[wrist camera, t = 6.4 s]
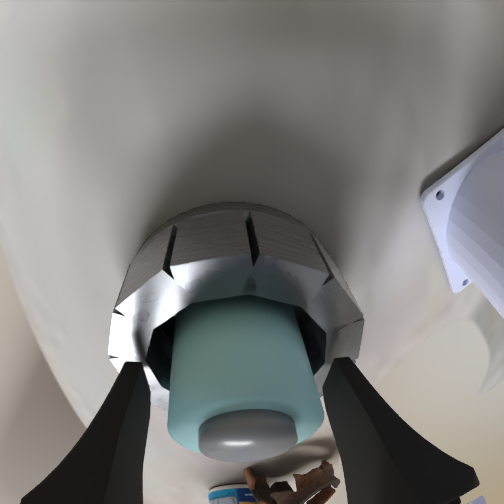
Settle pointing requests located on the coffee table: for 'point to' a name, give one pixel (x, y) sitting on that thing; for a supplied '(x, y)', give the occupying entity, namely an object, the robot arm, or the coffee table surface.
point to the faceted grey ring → (231, 286)
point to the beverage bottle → (231, 495)
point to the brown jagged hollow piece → (284, 498)
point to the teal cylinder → (241, 380)
